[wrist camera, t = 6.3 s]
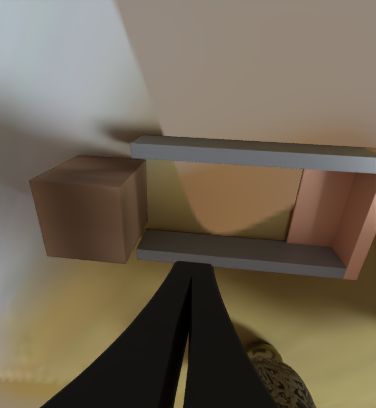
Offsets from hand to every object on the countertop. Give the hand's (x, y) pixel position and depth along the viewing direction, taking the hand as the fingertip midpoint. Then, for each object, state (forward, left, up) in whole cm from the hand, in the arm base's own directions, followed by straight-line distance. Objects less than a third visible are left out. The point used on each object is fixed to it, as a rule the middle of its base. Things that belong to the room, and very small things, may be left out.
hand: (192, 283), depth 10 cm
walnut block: (+6, 0, -8) cm, 10 cm away
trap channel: (-2, 0, -8) cm, 9 cm away
